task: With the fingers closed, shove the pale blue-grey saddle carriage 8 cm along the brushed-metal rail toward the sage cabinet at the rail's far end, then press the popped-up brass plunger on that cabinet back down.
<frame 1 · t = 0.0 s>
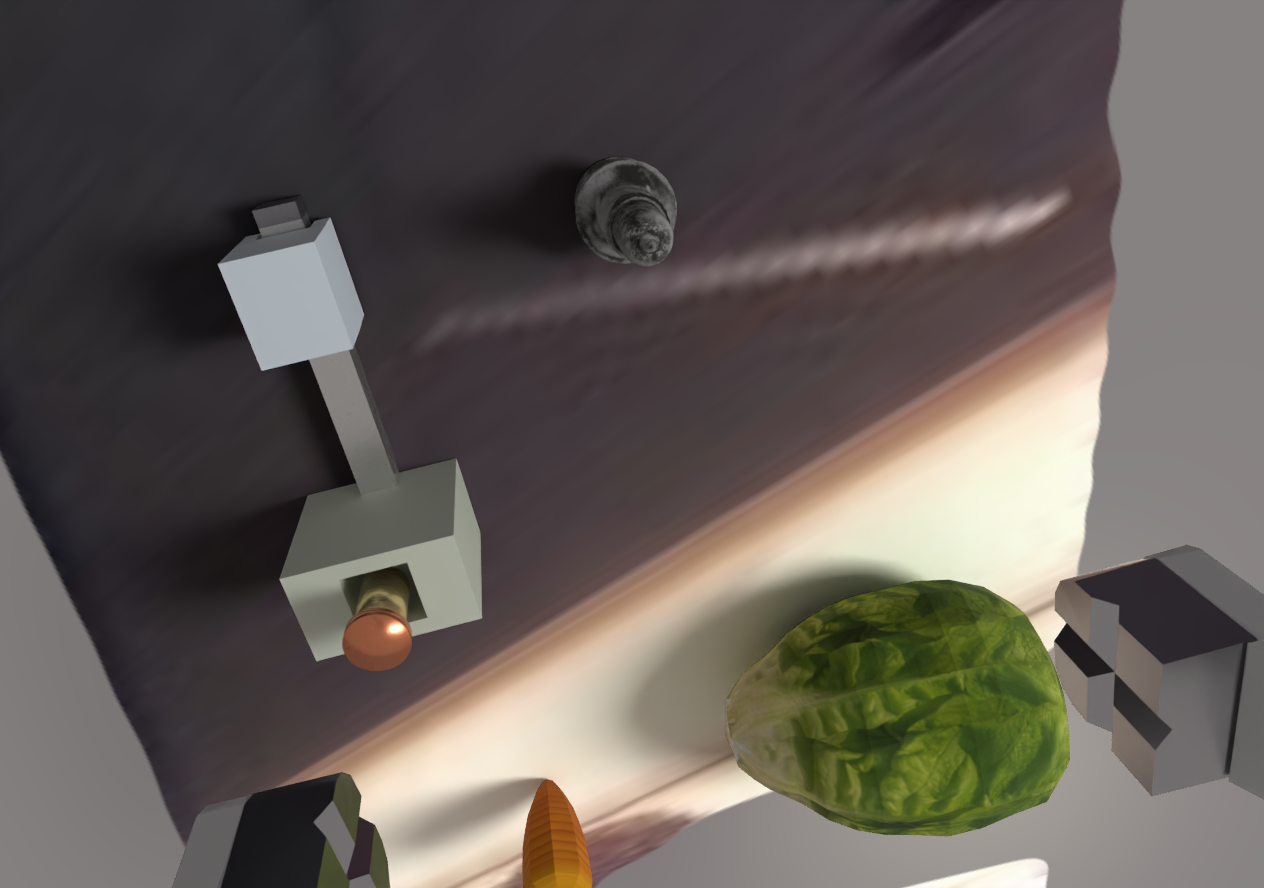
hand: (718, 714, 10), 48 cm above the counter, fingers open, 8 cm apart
rail: (337, 355, 57), on the counter
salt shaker: (617, 200, 56), on the counter
lettuce: (845, 640, 73), on the counter
carrot: (547, 779, 74), on the counter
carriage: (297, 291, 51), point 4 cm above the counter, slide at 0.0 cm
cabinet: (396, 514, 62), on the counter
plunger: (381, 613, 52), point 11 cm above the counter, slide at 0.0 cm
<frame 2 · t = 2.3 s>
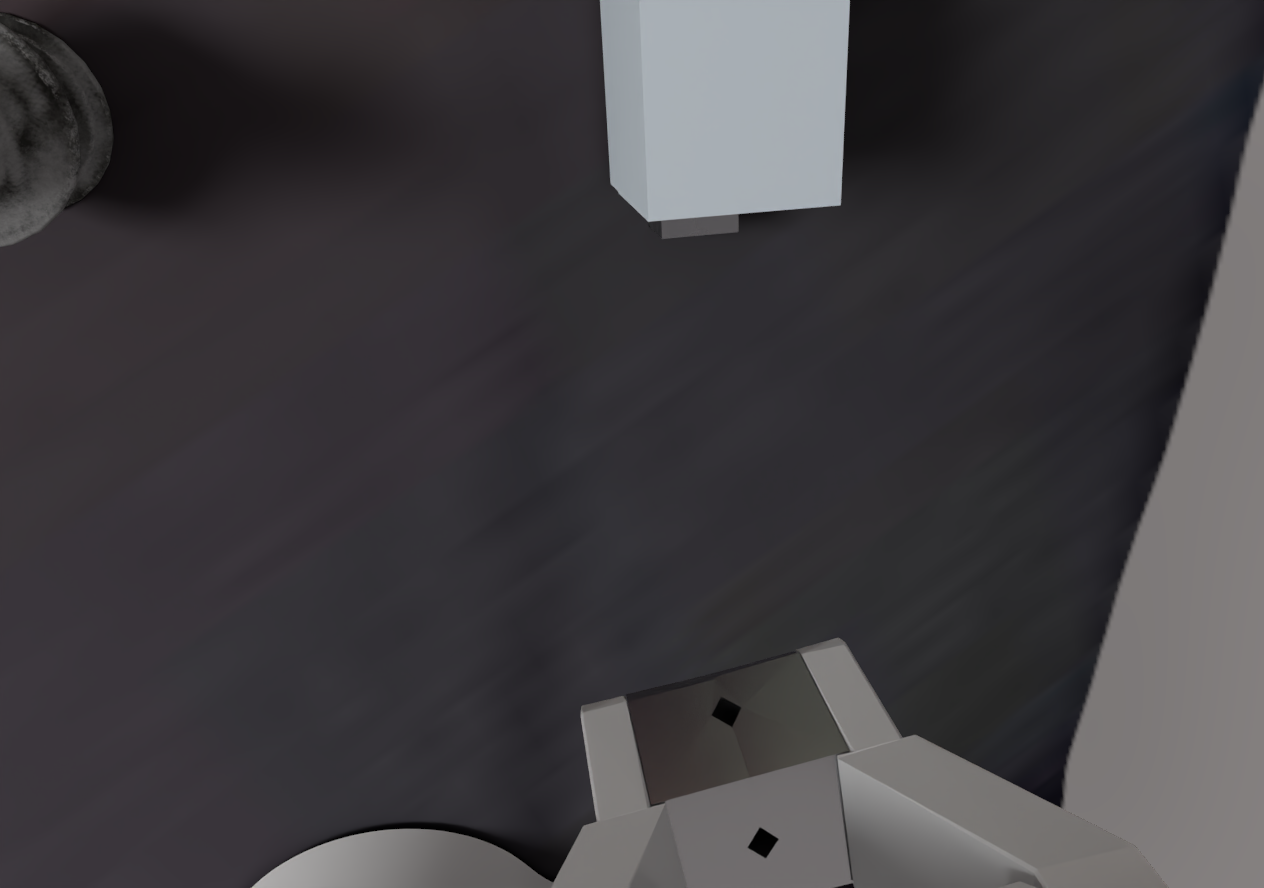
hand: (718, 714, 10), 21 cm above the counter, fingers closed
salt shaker: (11, 115, 25), on the counter
carriage: (712, 79, 24), point 4 cm above the counter, slide at 0.0 cm
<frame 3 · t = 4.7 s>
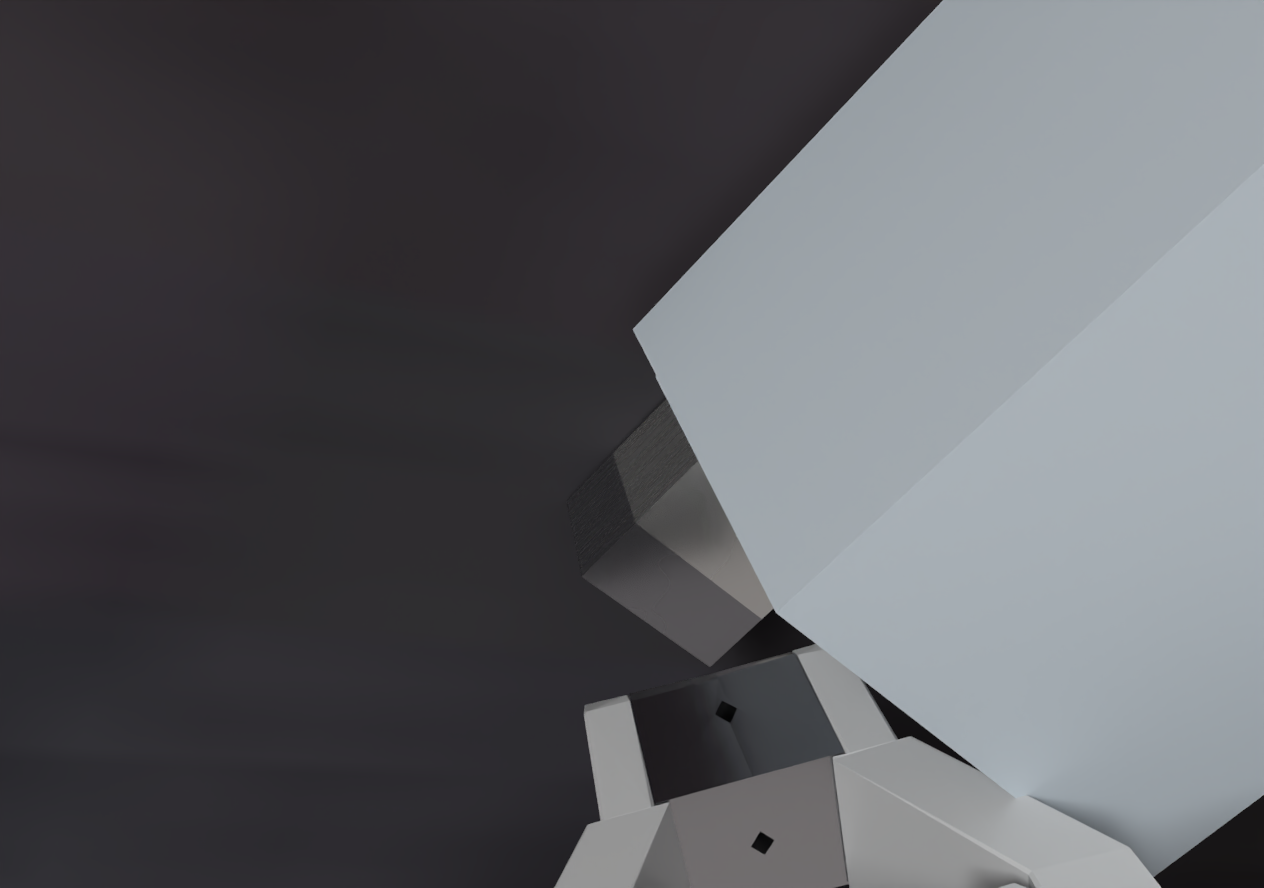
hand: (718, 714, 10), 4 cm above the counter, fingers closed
rail: (1139, 34, 12), on the counter
carriage: (1049, 362, 9), point 4 cm above the counter, slide at 1.1 cm, touching gripper
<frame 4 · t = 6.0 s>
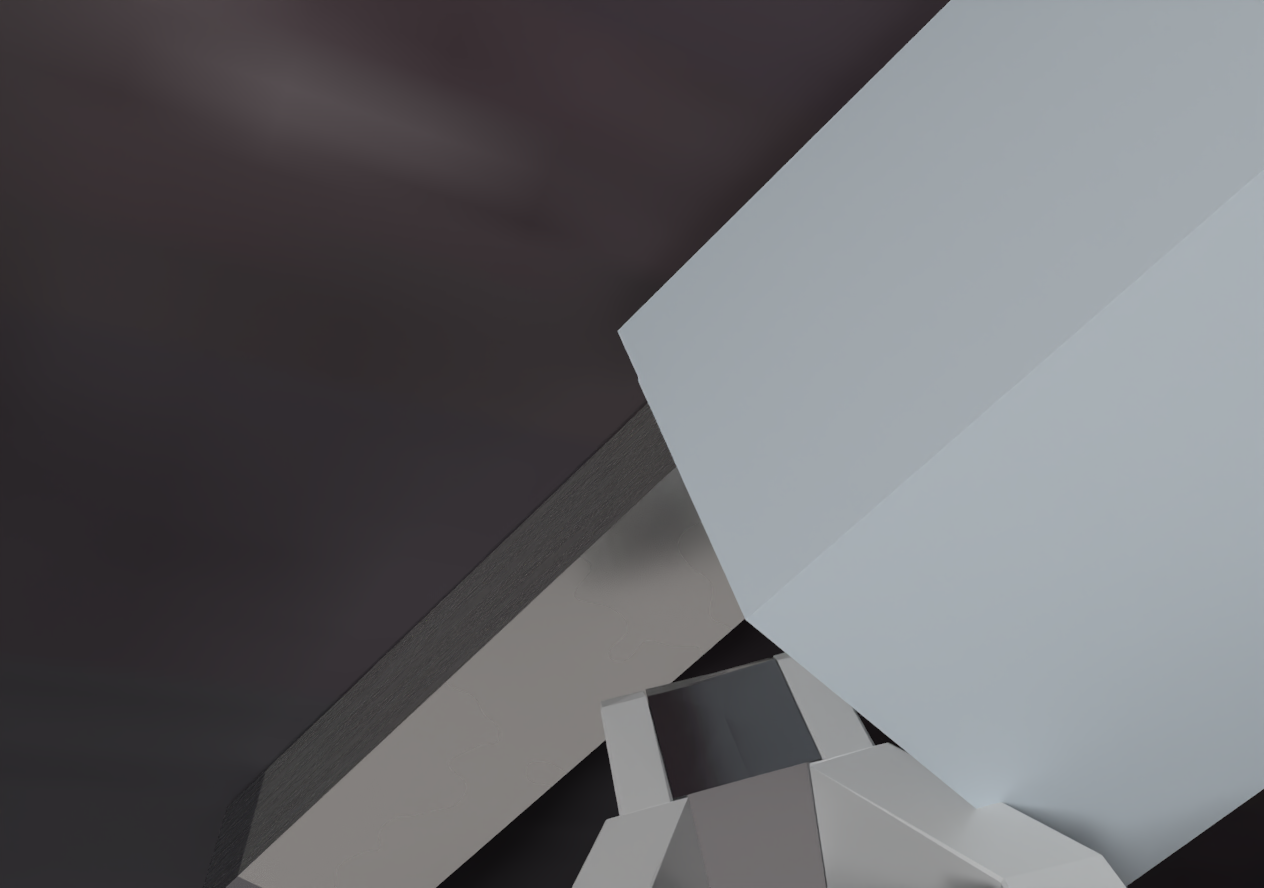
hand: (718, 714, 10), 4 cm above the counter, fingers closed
rail: (712, 445, 13), on the counter
carriage: (1029, 378, 9), point 4 cm above the counter, slide at 8.6 cm, touching gripper
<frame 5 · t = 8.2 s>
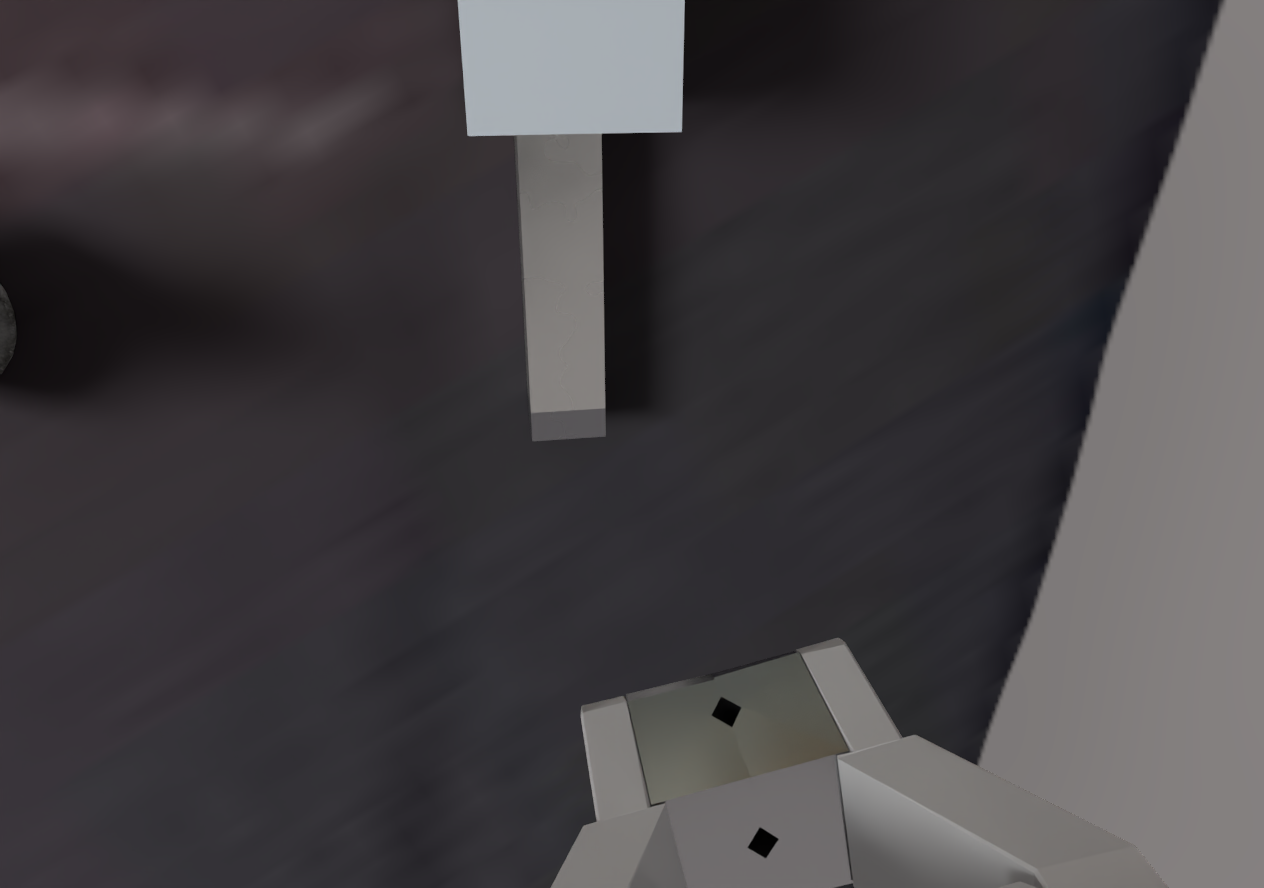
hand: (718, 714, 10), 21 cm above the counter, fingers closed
rail: (553, 116, 27), on the counter
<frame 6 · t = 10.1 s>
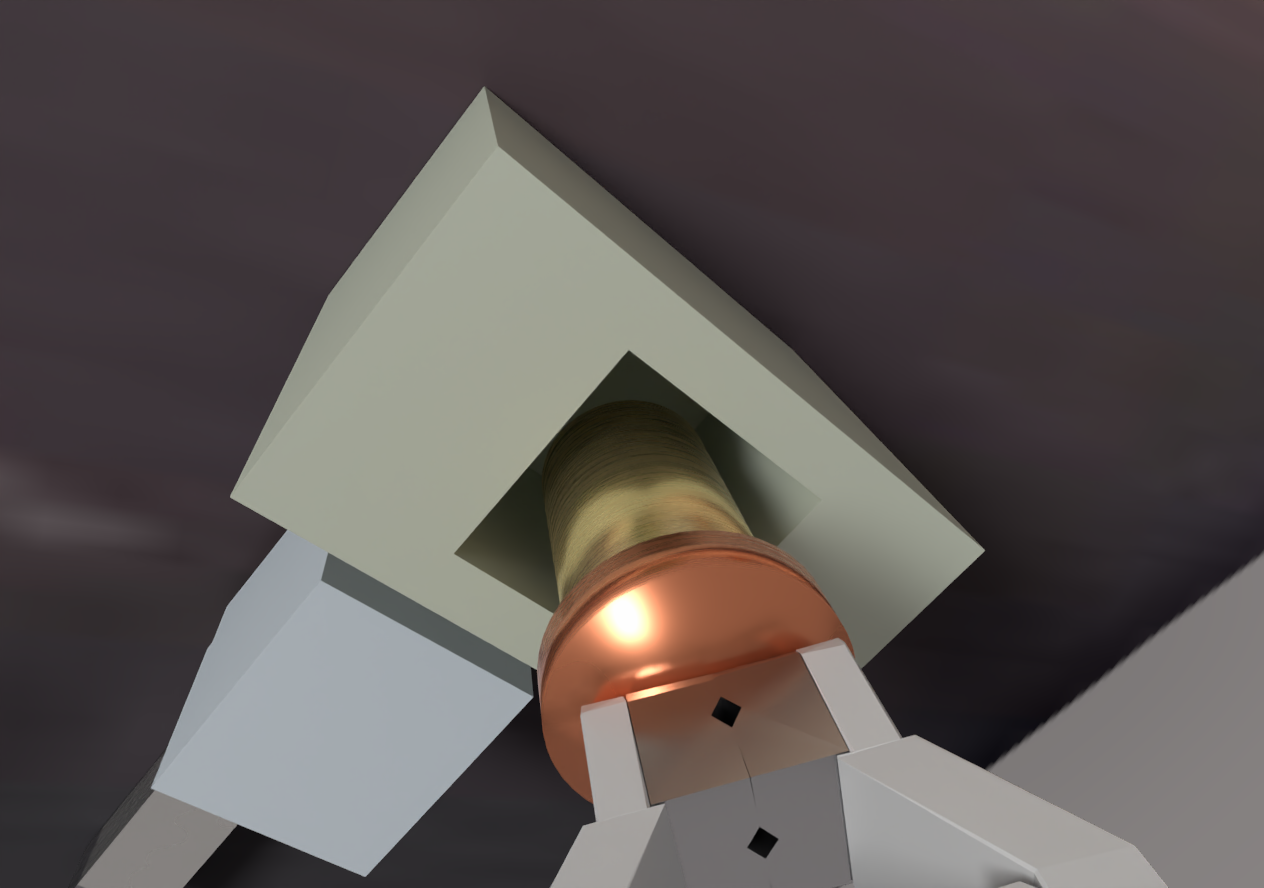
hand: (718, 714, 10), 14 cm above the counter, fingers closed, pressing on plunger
rail: (306, 644, 25), on the counter
carriage: (361, 645, 21), point 4 cm above the counter, slide at 8.5 cm
cabinet: (573, 323, 23), on the counter
plunger: (656, 569, 13), point 11 cm above the counter, slide at 0.2 cm, touching gripper
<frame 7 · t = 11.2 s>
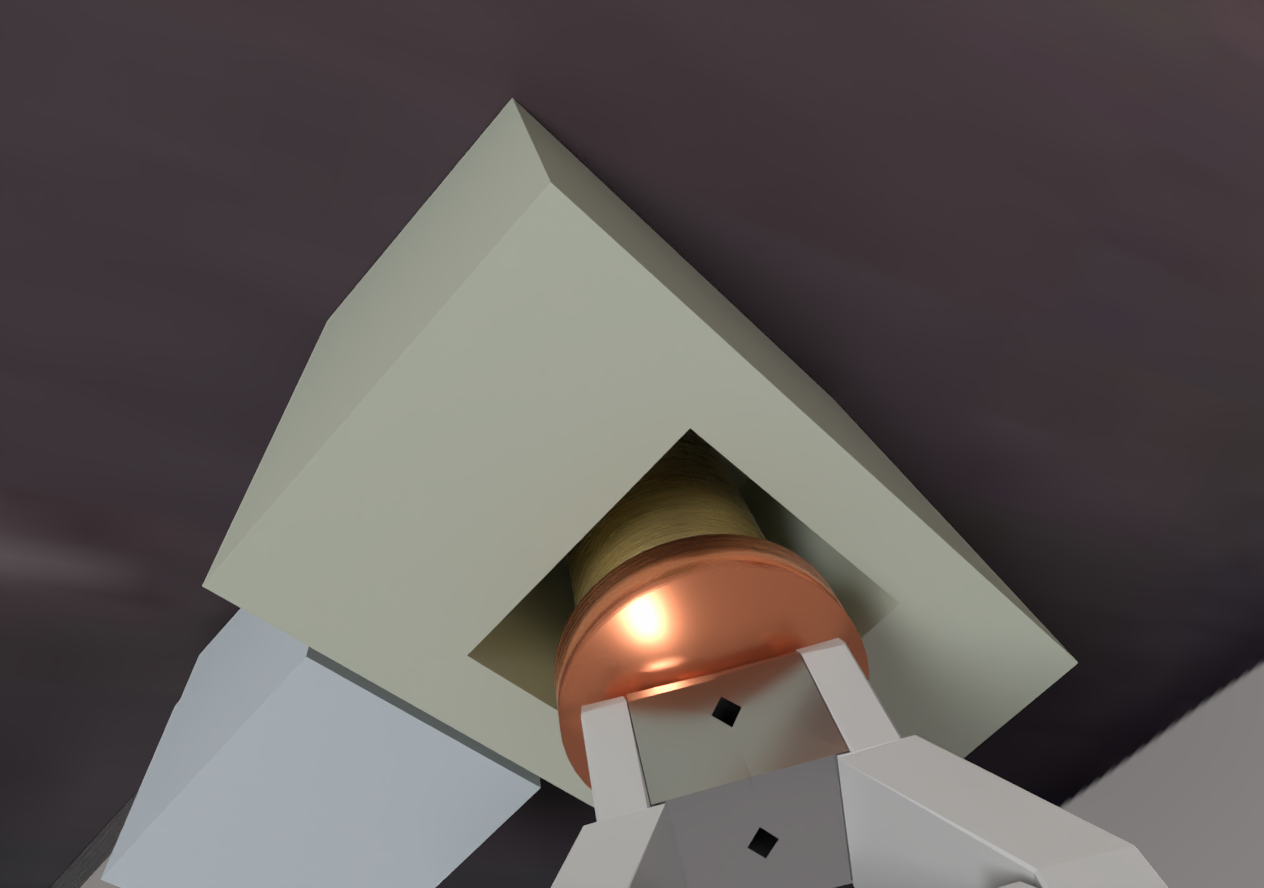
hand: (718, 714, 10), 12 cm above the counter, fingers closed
rail: (285, 696, 23), on the counter
carriage: (346, 712, 19), point 4 cm above the counter, slide at 8.5 cm
cabinet: (596, 361, 21), on the counter
plunger: (670, 571, 13), point 9 cm above the counter, slide at 2.7 cm
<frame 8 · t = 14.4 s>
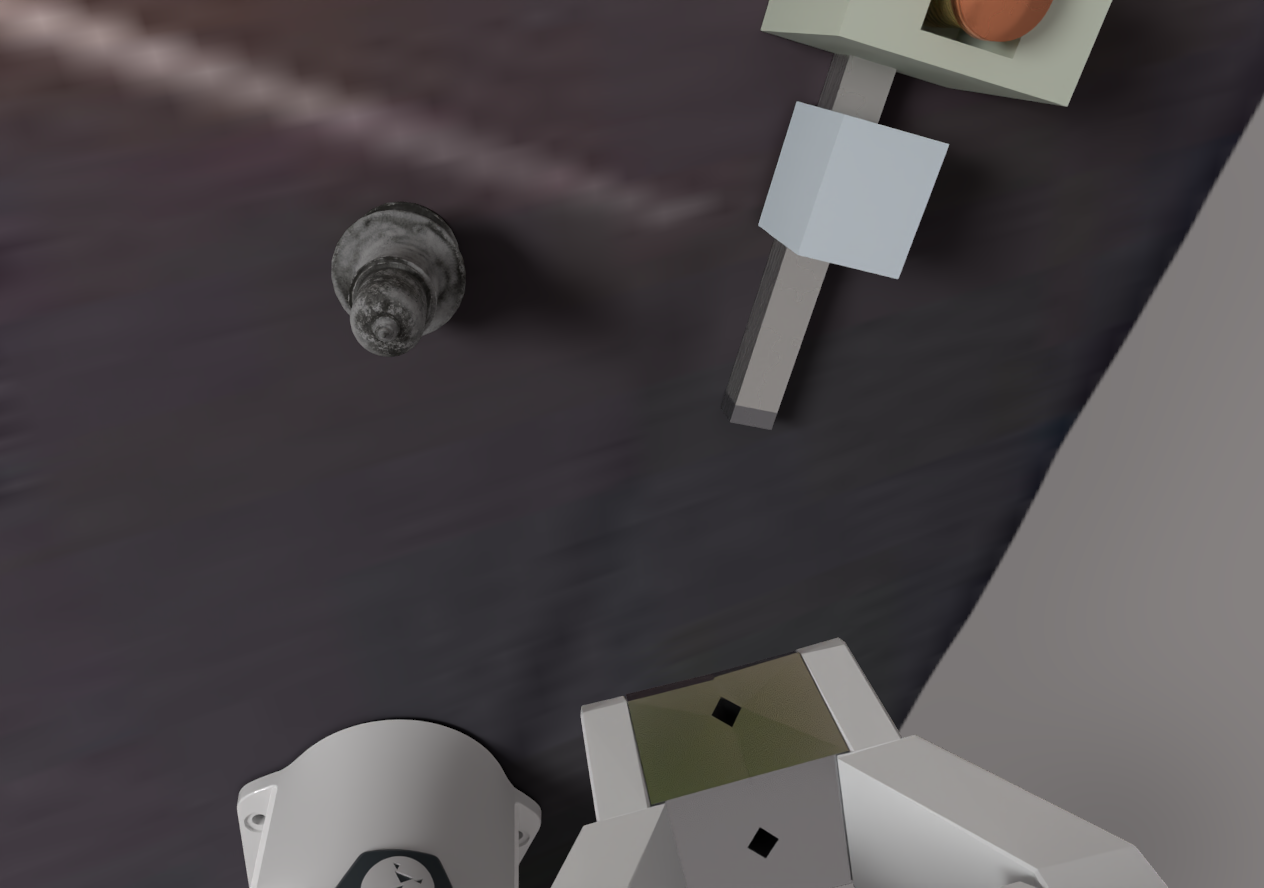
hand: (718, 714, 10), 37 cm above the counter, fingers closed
rail: (797, 239, 47), on the counter
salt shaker: (404, 256, 44), on the counter
carriage: (845, 187, 42), point 4 cm above the counter, slide at 8.5 cm
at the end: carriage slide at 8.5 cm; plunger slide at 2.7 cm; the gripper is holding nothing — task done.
